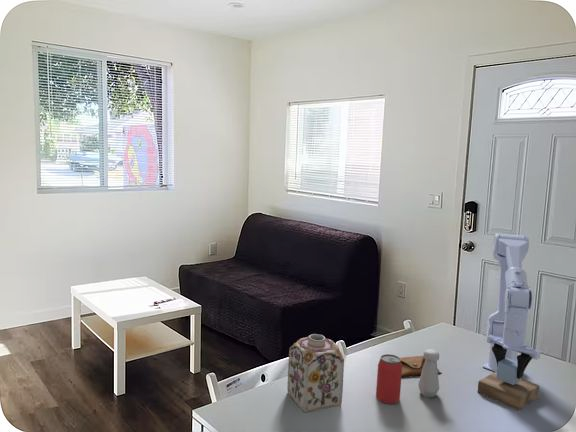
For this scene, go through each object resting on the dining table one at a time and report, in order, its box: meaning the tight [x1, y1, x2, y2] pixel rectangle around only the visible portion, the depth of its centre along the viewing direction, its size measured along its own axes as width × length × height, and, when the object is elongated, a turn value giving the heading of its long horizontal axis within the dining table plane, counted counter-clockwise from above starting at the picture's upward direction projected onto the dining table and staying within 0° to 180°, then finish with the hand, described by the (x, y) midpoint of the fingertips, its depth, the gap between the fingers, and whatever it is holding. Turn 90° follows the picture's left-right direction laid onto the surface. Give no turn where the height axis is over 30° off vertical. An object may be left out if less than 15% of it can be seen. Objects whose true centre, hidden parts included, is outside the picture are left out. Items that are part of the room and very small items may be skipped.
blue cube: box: [496, 358, 523, 385], centre depth 139 cm, size 5×5×5 cm
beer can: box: [375, 353, 402, 405], centre depth 135 cm, size 7×7×12 cm
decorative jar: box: [286, 333, 345, 413], centre depth 132 cm, size 12×12×18 cm
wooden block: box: [477, 371, 540, 411], centre depth 140 cm, size 12×12×4 cm
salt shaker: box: [418, 348, 440, 398], centre depth 138 cm, size 6×6×13 cm
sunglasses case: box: [399, 355, 443, 379], centre depth 154 cm, size 18×7×7 cm, turn 109°
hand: (509, 373), depth 140 cm, fingers closed on blue cube, 5 cm apart
